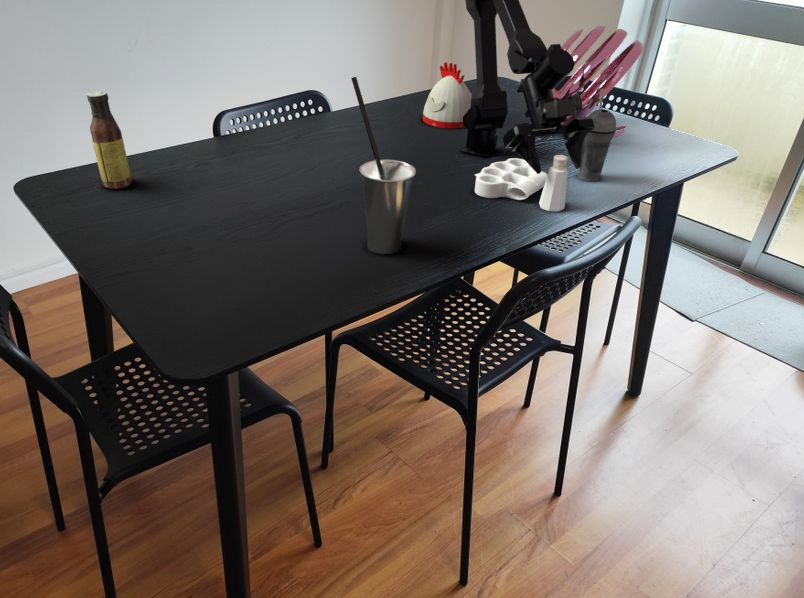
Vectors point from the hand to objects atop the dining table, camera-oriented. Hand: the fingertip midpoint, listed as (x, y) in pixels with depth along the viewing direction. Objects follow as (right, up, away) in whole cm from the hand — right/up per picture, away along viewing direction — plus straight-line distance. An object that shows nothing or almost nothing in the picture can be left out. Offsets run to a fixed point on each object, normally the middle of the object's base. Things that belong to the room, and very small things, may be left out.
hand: (559, 170), depth 147 cm
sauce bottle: (-95, -1, +11) cm, 96 cm away
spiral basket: (+17, +21, +43) cm, 51 cm away
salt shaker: (0, -7, +5) cm, 8 cm away
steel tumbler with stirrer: (-37, -17, -11) cm, 42 cm away
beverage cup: (+12, +3, +18) cm, 22 cm away
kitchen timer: (-16, +27, +50) cm, 59 cm away
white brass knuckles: (-8, 0, +13) cm, 15 cm away
